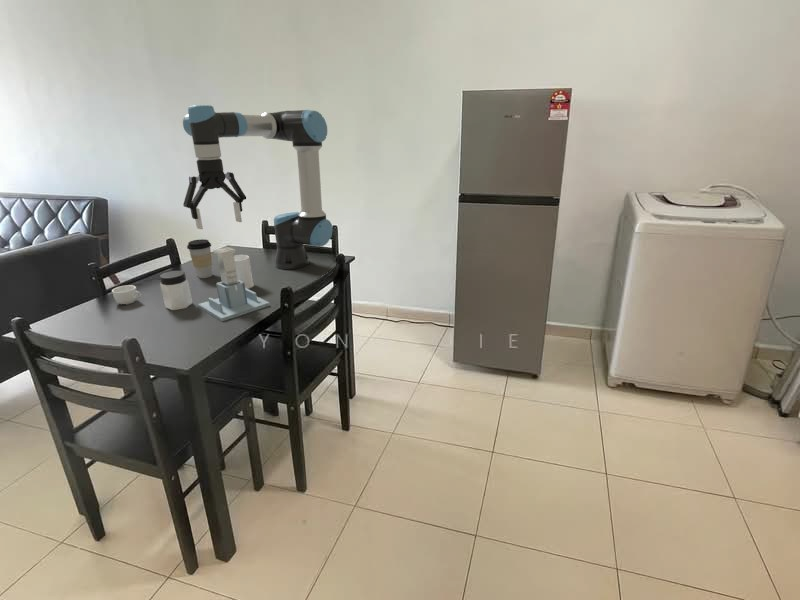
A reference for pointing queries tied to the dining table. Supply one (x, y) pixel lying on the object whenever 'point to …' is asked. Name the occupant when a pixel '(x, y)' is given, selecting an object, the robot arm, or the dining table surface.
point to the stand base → (232, 302)
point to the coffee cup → (201, 257)
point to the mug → (244, 270)
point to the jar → (175, 290)
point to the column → (227, 266)
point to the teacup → (125, 294)
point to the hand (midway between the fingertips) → (220, 225)
